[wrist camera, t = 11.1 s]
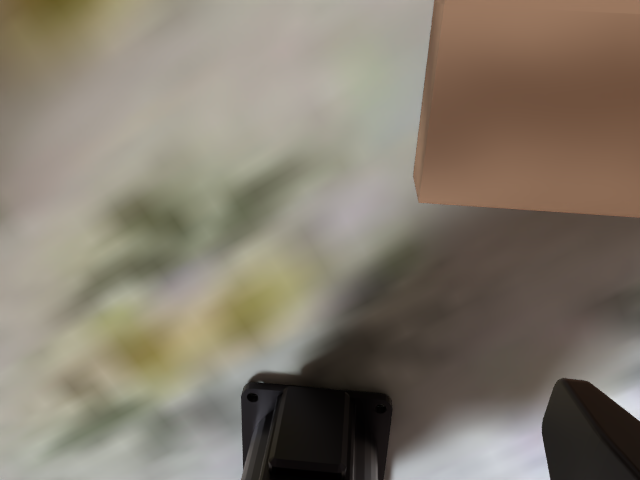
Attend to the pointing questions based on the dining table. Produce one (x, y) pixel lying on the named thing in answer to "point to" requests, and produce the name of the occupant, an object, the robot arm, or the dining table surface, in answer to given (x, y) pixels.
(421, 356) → the dining table surface
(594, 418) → the robot arm
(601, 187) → the holder block
